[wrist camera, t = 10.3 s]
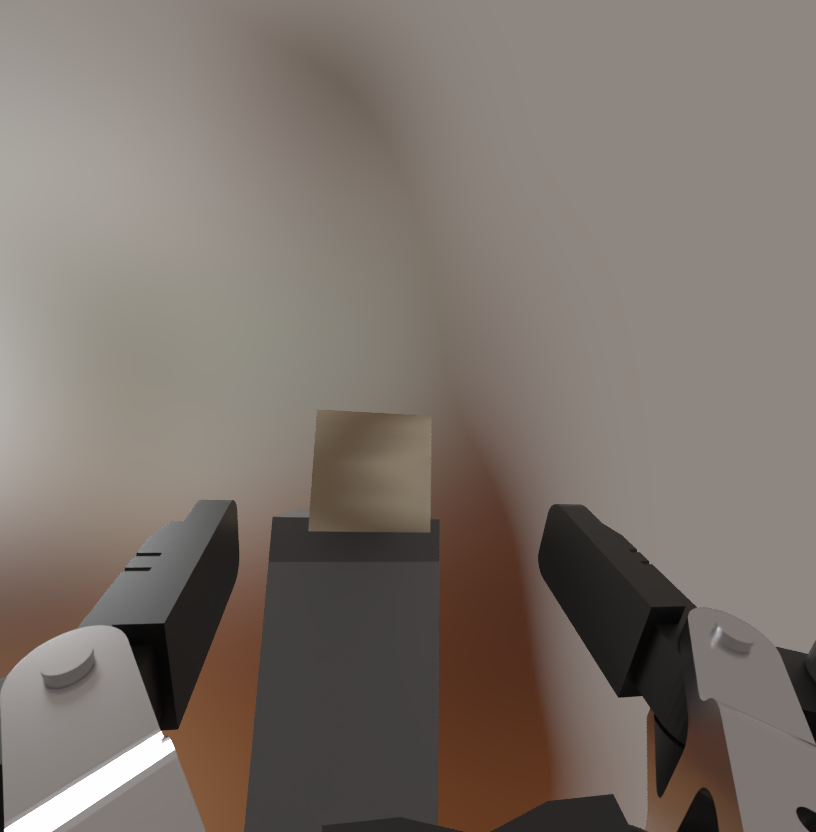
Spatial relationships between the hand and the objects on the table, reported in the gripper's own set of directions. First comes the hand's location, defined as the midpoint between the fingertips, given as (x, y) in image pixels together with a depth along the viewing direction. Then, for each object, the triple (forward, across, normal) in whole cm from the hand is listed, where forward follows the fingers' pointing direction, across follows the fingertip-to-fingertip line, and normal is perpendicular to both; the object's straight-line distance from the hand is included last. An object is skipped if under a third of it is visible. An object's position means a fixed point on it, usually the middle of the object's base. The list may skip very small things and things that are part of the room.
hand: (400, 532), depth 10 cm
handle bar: (+9, -1, -6) cm, 11 cm away
